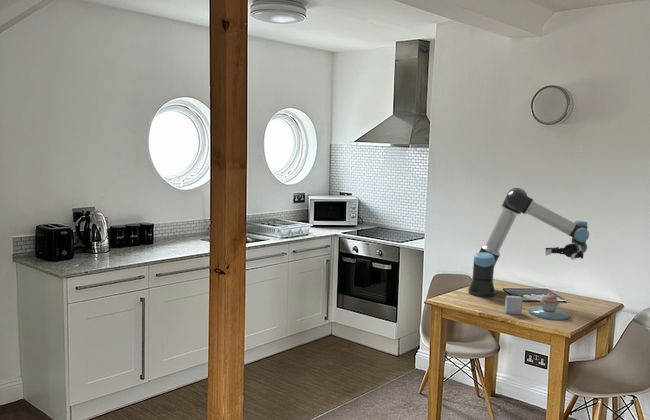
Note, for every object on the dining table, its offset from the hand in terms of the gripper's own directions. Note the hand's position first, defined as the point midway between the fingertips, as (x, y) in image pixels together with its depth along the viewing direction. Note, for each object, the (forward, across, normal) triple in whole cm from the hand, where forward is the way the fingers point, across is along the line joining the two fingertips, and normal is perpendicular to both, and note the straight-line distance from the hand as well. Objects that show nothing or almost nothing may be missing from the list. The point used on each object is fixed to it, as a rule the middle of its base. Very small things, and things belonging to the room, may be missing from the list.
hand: (559, 255), depth 322 cm
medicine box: (+23, +13, -30) cm, 40 cm away
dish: (+10, -1, -30) cm, 32 cm away
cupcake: (+10, -1, -29) cm, 30 cm away
